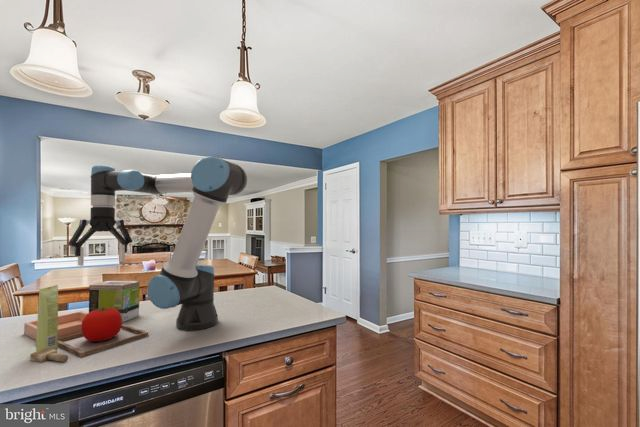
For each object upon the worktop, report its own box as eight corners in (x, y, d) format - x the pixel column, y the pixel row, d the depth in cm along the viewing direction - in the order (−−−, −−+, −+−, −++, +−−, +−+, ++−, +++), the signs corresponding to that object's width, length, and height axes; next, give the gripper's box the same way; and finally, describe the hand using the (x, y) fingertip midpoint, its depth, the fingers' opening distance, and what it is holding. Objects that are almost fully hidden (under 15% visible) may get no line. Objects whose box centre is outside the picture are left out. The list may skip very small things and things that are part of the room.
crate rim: (148, 335, 106) (148, 332, 106) (80, 357, 89) (80, 353, 89) (118, 325, 116) (118, 322, 116) (52, 343, 99) (52, 339, 99)
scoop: (72, 358, 88) (72, 352, 88) (57, 364, 84) (57, 358, 84) (46, 354, 91) (46, 348, 91) (30, 360, 87) (30, 353, 87)
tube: (34, 350, 94) (36, 286, 94) (55, 345, 98) (57, 284, 98) (37, 355, 90) (39, 289, 91) (59, 350, 94) (61, 286, 95)
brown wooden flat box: (103, 328, 113) (103, 318, 113) (44, 344, 98) (45, 332, 98) (80, 320, 122) (81, 311, 122) (24, 333, 107) (24, 323, 108)
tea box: (139, 315, 130) (140, 280, 130) (122, 323, 120) (123, 285, 120) (107, 314, 131) (108, 279, 132) (87, 321, 121) (88, 284, 122)
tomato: (119, 330, 111) (120, 301, 111) (123, 341, 101) (124, 309, 102) (80, 338, 104) (81, 307, 104) (80, 349, 94) (81, 315, 95)
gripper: (132, 208, 128) (132, 259, 127) (57, 205, 107) (56, 266, 106) (142, 207, 124) (141, 260, 123) (66, 204, 103) (65, 268, 102)
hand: (102, 263), depth 115 cm, fingers open, 13 cm apart
